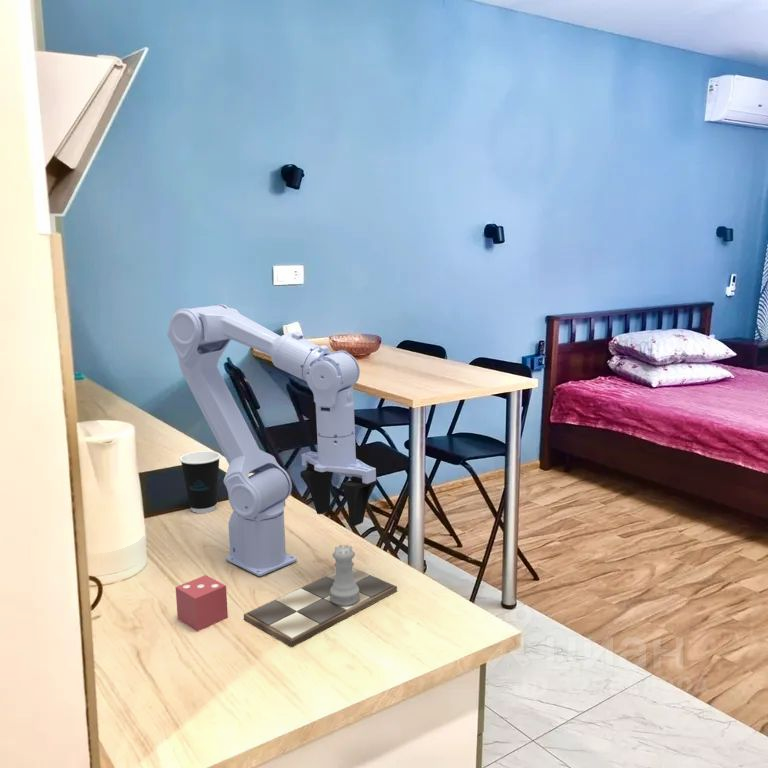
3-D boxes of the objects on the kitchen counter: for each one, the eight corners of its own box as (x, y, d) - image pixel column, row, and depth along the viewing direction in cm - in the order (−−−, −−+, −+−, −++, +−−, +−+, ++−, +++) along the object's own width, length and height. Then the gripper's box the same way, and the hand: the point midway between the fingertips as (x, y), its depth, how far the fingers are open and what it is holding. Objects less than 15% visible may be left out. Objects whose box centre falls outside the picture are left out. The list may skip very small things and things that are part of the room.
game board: (243, 619, 102) (243, 612, 101) (348, 570, 116) (348, 564, 116) (291, 647, 94) (291, 640, 94) (397, 591, 109) (396, 585, 109)
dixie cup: (213, 499, 150) (209, 448, 147) (230, 509, 144) (227, 456, 141) (176, 508, 145) (172, 455, 143) (193, 519, 139) (189, 465, 136)
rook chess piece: (341, 589, 108) (339, 539, 106) (366, 597, 105) (365, 546, 104) (323, 602, 104) (321, 550, 102) (348, 610, 102) (347, 557, 100)
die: (177, 619, 102) (175, 586, 101) (207, 606, 106) (205, 574, 105) (197, 632, 99) (195, 598, 98) (227, 618, 102) (225, 585, 101)
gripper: (284, 430, 110) (289, 514, 113) (350, 446, 100) (353, 537, 103) (319, 422, 115) (322, 502, 118) (384, 436, 105) (387, 523, 108)
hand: (339, 518), depth 111 cm, fingers open, 7 cm apart
